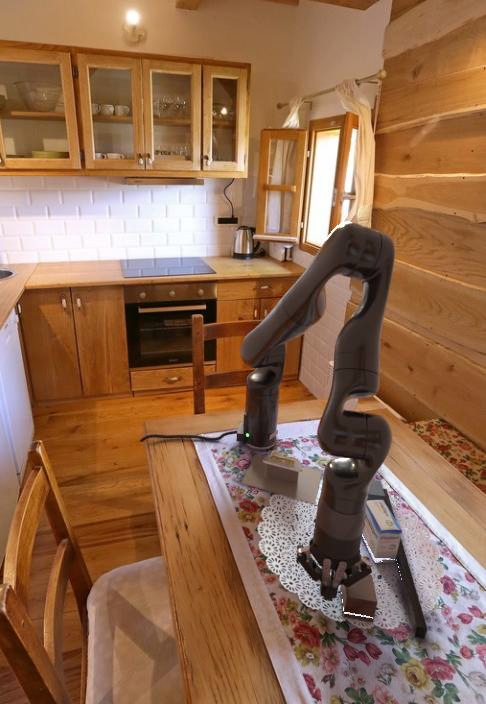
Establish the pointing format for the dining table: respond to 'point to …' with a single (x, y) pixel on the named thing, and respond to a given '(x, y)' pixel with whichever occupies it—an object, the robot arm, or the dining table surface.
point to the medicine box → (381, 531)
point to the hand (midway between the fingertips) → (327, 595)
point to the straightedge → (408, 586)
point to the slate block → (376, 491)
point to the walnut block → (359, 599)
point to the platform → (283, 477)
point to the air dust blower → (351, 404)
